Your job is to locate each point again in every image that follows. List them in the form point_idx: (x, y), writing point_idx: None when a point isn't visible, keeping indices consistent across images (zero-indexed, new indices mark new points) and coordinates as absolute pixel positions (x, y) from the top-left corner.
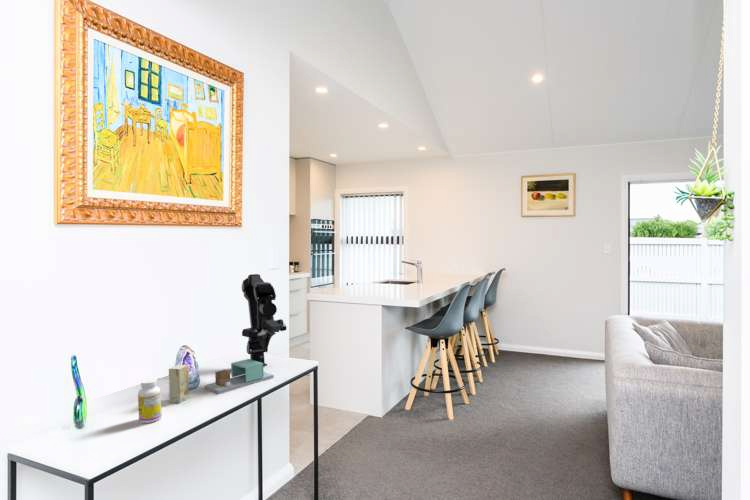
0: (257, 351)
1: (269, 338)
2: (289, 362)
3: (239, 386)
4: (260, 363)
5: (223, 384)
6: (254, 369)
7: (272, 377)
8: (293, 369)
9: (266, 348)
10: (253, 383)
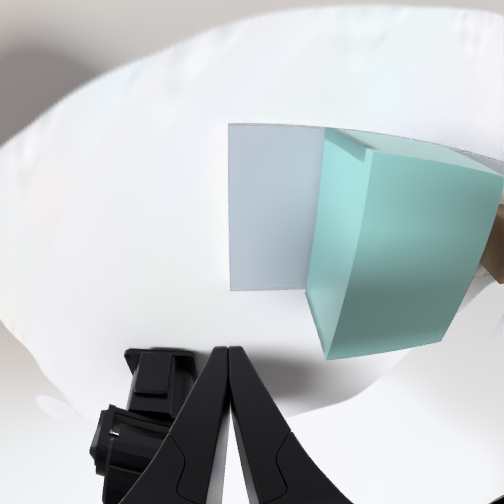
0: (160, 428)
1: (163, 496)
2: (28, 309)
3: (463, 151)
4: (397, 163)
5: (502, 206)
6: (435, 153)
7: (239, 124)
8: (41, 192)
9: (223, 359)
10: (389, 135)
